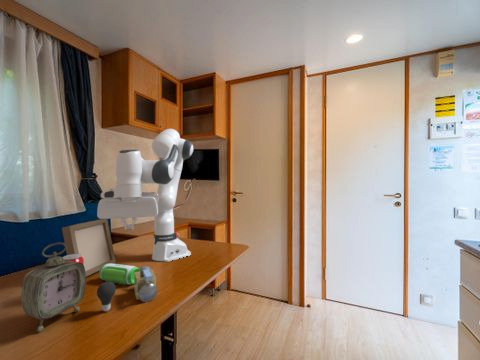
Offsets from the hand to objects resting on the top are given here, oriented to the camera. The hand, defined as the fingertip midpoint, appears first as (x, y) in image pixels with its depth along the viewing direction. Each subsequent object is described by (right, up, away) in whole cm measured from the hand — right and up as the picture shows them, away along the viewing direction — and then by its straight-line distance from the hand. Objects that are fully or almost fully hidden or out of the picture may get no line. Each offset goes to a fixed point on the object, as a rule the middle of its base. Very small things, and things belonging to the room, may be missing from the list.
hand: (129, 229), depth 83 cm
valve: (+3, -27, +7) cm, 28 cm away
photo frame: (-36, -28, +29) cm, 54 cm away
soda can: (-27, -28, +7) cm, 39 cm away
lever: (+5, -19, +3) cm, 20 cm away
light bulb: (-5, -27, -5) cm, 28 cm away
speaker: (-13, -28, +17) cm, 35 cm away
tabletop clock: (-20, -27, -10) cm, 35 cm away
